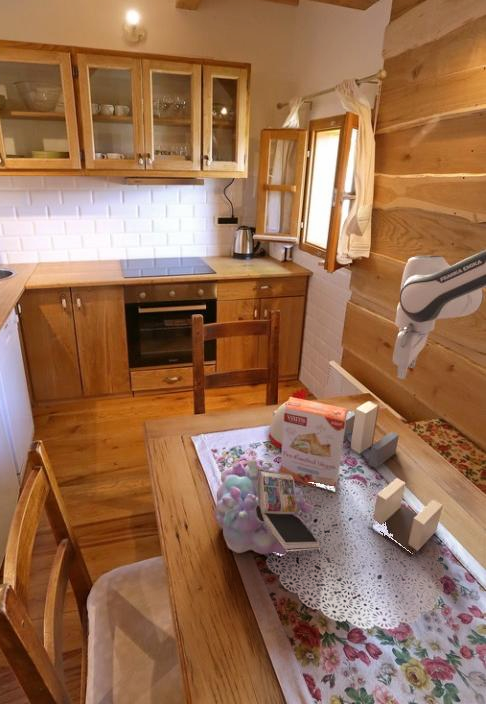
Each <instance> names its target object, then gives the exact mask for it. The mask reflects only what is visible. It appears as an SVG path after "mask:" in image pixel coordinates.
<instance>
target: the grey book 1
mask: <svg viewBox="0 0 486 704" xmlns="http://www.w3.org/2000/svg"><path fill="white" fill-rule="evenodd" d="M355 412H356V411H353V410H351V411H349V412H347V417H346V424H345V432H344V438H346V437H347V436H349V435H350V434H351V435H352V434H353V427H354V419H355Z"/></svg>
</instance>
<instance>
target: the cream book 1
mask: <svg viewBox="0 0 486 704" xmlns="http://www.w3.org/2000/svg"><path fill="white" fill-rule="evenodd" d="M405 488H406V482H405V481H403V480H401V479H400V478H398V477H396V478H395V479H393V481H391V482H390V483H389V484H388V485H387V486H386V487H384V488H383V489H382V490H380V491H379V492H378V493H377V494H376V500H375V505H374V511H373V515H372V516H373V517H372V520H373V519H374V520H373V521H377V522H378V523H379V524H381V525H382V524H383V523H384V522H385V521H386V520H387V519H388V518H389V517H390V516H391V515H393V514H394V513H395V512H396V511H397V510H398V509H399V508H400V507H401V504H402V502H403V497H404V492H405Z"/></svg>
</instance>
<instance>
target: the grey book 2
mask: <svg viewBox="0 0 486 704" xmlns="http://www.w3.org/2000/svg"><path fill="white" fill-rule="evenodd" d="M399 437H400V436H399V434H398V433H396V432H394V431H391V432H390V433H388V434H386V435H385V436H383V437H382V438H381V439H379V440H378V441H376V442H374V443H373V445H372V446H370V452H369V460H368V465H369V466H370V467H372V468H374V469H377V468H378V467H380V466H381V465H382V464H384V463H385V462H386V461H387V460H388V459H390V458H391V457H392V456H394V455H395V454H397V449H398V448H397V447H398V444H399V443H398V442H399Z"/></svg>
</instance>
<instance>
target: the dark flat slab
mask: <svg viewBox="0 0 486 704" xmlns="http://www.w3.org/2000/svg"><path fill="white" fill-rule="evenodd" d="M417 515H418V513H416V512H414V511H412V510H411V509H410V508H408V507H406V506H405V505H403V503H401V507H400V508H399V509H398V510H397V511H396V512H395V513H394V514H393V515H391V516H390V517H389V518H388V519H387V520H386V521H385V522H386V526H387V530H388V533H389V534H390V533H391V534H393V537H392V536H391V537H392V538H393V539H394V540H396V541H397V542H398V543H400V544H401V545H402V546H403V547H405V548H406V549H407V550H409V551H410V552H411V553H410V552H409V551H407V550H406V549H405V548H403V547H402V546H400V545H399V544H398V543H396V542H395V541H394V540H392V539H391V538H389V537H388V536H387V535H385V536H384V533H383V532H381V531H380V532H381V533H383V536H382V537H383V539H385V540H387V541H388V542H389V543H391V544H392V545H394V546H395V547H396V548H398V549H399V550H400V551H402V552H403V553H404V554H406V555H407V556H409V558H412V557H414V556H415V554H416V553H417V552H418V551H417V550H416V549H414V548H413V547H411V546H410V545H409V544H408V543H409V539H410V534H411V530H412V525H413V520H414V518H415V517H416V516H417ZM385 522H384V524H385ZM384 526H385V525H384ZM412 553H413V554H412Z"/></svg>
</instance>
